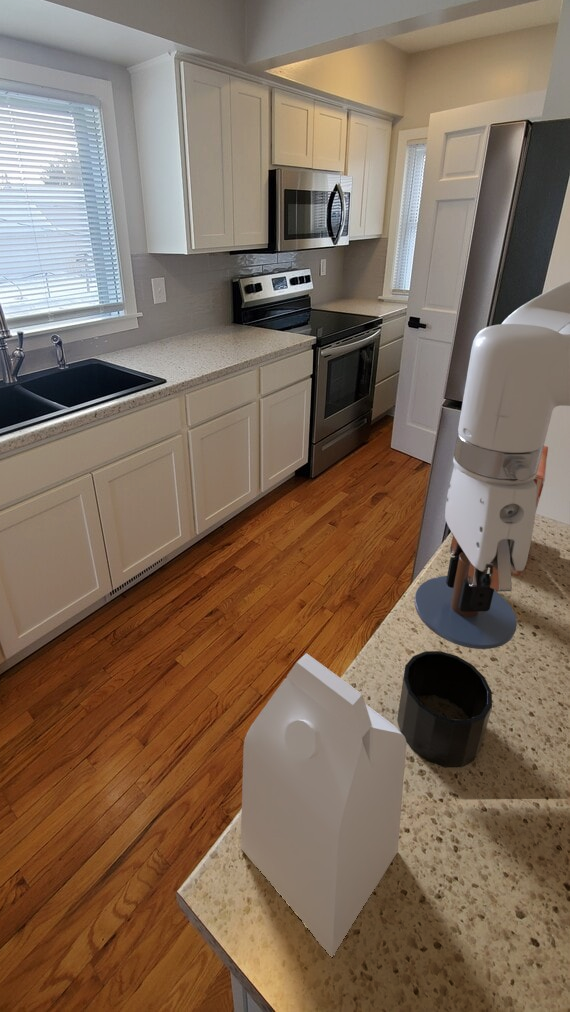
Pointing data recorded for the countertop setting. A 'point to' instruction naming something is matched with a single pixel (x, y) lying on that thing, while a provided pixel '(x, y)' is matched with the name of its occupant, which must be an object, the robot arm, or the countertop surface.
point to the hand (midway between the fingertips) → (466, 596)
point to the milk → (322, 798)
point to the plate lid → (464, 613)
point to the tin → (434, 732)
